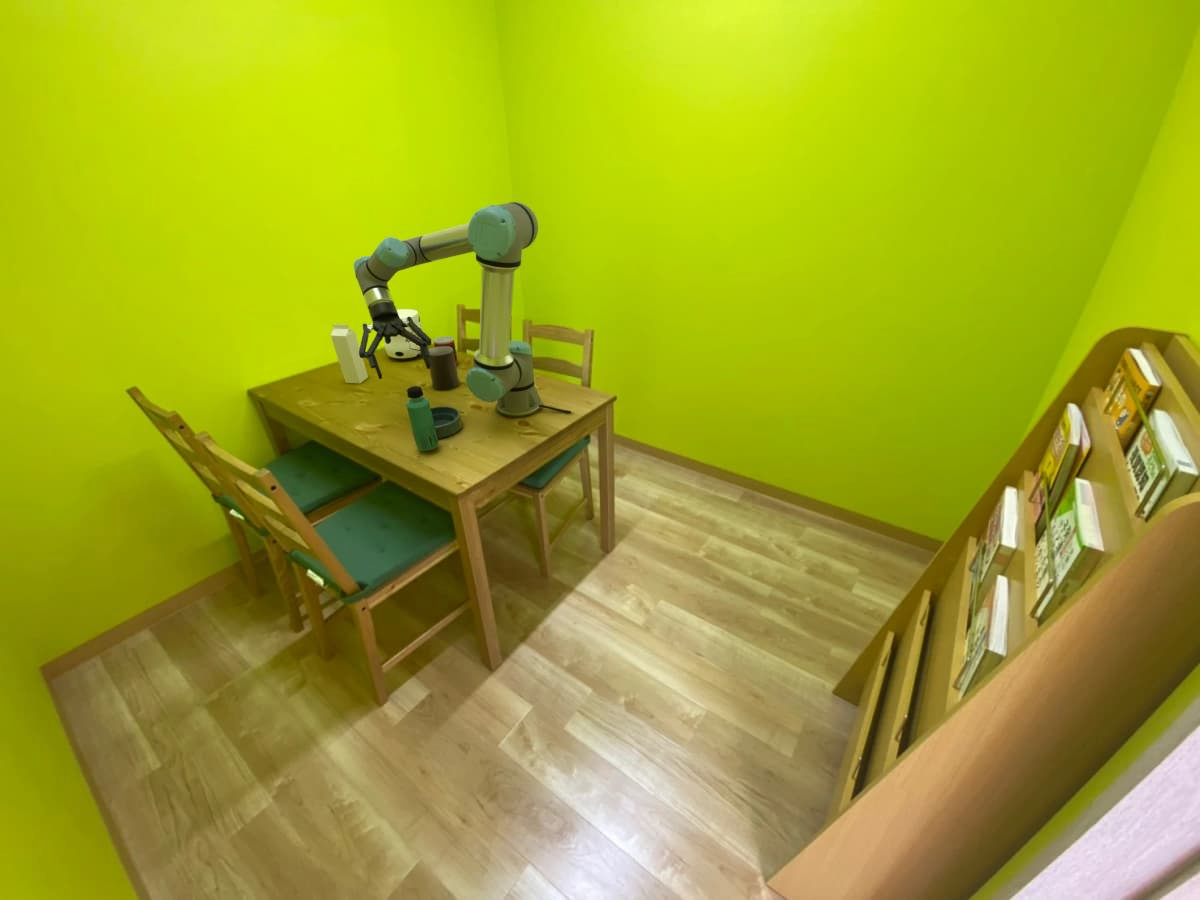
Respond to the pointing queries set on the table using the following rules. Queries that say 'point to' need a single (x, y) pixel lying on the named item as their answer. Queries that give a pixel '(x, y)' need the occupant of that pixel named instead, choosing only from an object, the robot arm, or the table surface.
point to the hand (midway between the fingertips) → (405, 371)
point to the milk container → (404, 339)
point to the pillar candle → (443, 368)
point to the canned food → (446, 344)
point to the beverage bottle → (421, 419)
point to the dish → (446, 420)
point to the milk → (348, 354)
